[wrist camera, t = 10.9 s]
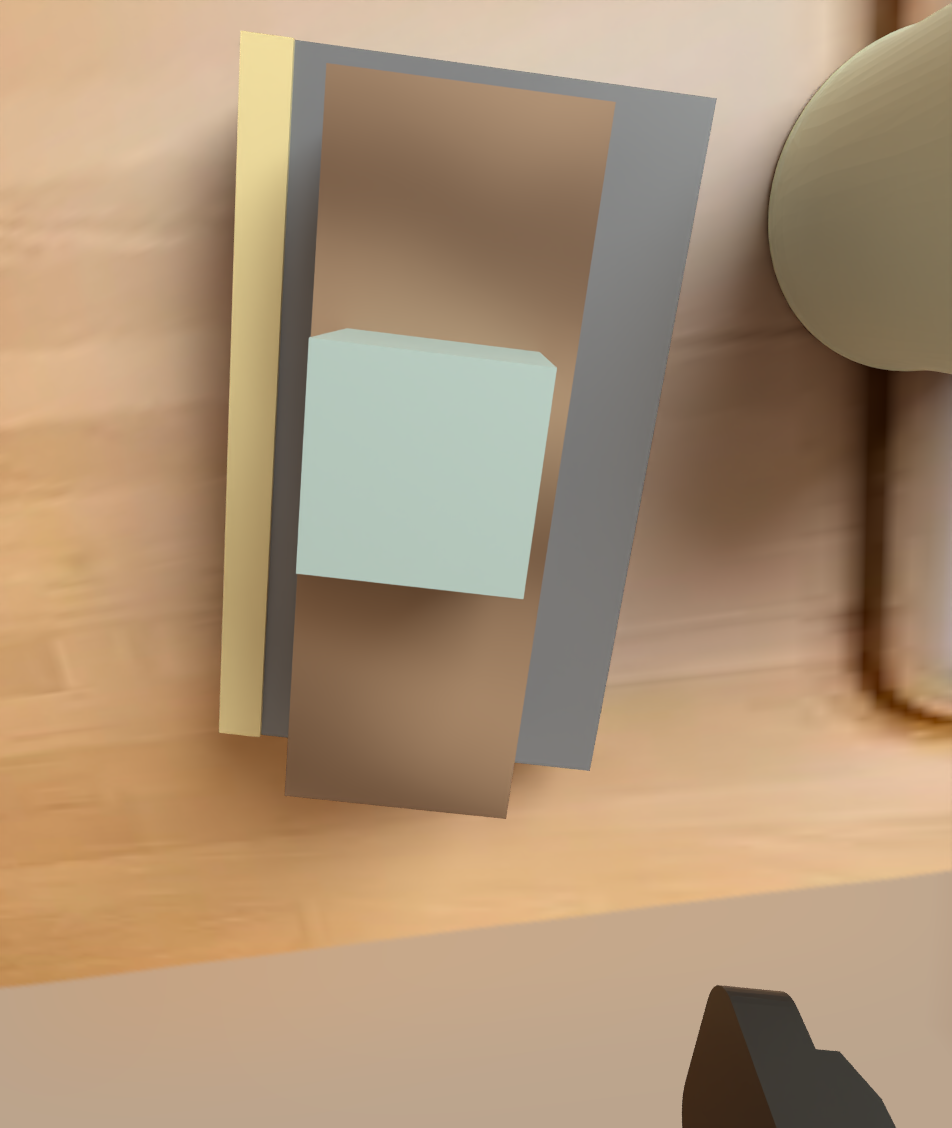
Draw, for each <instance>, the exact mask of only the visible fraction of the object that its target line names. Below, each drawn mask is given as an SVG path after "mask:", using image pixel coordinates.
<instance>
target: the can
mask: <svg viewBox="0 0 952 1128" xmlns="http://www.w3.org/2000/svg"><path fill="white" fill-rule="evenodd" d="M768 236H769V245H770V253H771V257H772V262H773V267H774V271H775V274H776V277H777V279H778V282H779V285H780V287H781V290H782V292H783V294H784V296H785V298H786V300H787V302H788V304H789V306H790V307H791V309H792V310H793V312H794V313H795V315H796V316H797V318H798V319H799V320H800V321H801V323H802V324H803V325H804V326H805V327H806V328H807V329H808V331H809V332H810V333H811V334H813V335H814V336H815V337H816V338H817V339H818V340H819V341H821V342H822V343H823V344H824V345H826V346H827V347H829V348H830V349H831V350H833V351H835V352H836V353H838V354H840V355H841V356H843V357H846V358H848V359H850V360H852V361H854V362H857V363H860V364H863V365H866V366H870V367H874V368H878V369H884V370H892V371H922V370H929V371H936V372H942V373H948V374H952V3H950V4H949V5H947V6H945V7H944V8H942V9H940V10H939V11H937V12H935V13H934V14H932V15H930V16H929V17H927V18H925V19H924V20H922V21H920V22H919V23H916V24H913V25H910V26H907V27H904V28H901V29H899V30H897V31H894V32H892V33H890V34H888V35H886V36H884V37H882V38H880V39H879V40H877V41H875V42H873V43H872V44H870V45H869V46H867V47H865V48H864V49H862V50H861V51H860V52H858V53H857V54H855V55H854V56H853V57H852V58H850V59H849V60H848V61H847V62H845V63H844V64H843V65H842V66H841V67H840V68H839V69H838V70H837V71H835V72H834V73H833V74H832V75H831V76H830V77H829V78H828V80H827V81H826V82H825V83H824V84H823V85H822V86H821V87H820V89H819V90H818V91H817V92H816V93H815V95H814V96H813V97H812V99H811V100H810V101H809V103H808V104H807V105H806V107H805V108H804V110H803V112H802V113H801V115H800V116H799V118H798V120H797V121H796V123H795V125H794V127H793V129H792V130H791V132H790V134H789V137H788V139H787V141H786V143H785V145H784V148H783V150H782V153H781V156H780V158H779V161H778V164H777V168H776V171H775V175H774V179H773V183H772V189H771V195H770V201H769V212H768Z"/></svg>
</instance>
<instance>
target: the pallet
mask: <svg viewBox="0 0 952 1128" xmlns="http://www.w3.org/2000/svg"><path fill="white" fill-rule="evenodd" d="M615 104H616V102H612V101H605V100H597V99H590V98H582V97H575V96H568V95H560V94H553V93H545V92H538V91H530V90H523V89H516V88H508V87H501V86H493V85H486V84H479V83H471V82H464V81H456V80H449V79H442V78H434V77H427V76H419V75H412V74H404V73H397V72H390V71H382V70H375V69H367V68H360V67H353V66H345V65H338V64H330V63H326V79H325V96H324V114H323V132H322V149H321V167H320V185H319V202H318V220H317V237H316V255H315V273H314V290H313V308H312V325H311V337H313V336H317V335H321V334H325V333H329V332H333V331H338V330H342V329H346V328H349V329H357V330H365V331H373V332H382V333H390V334H398V335H406V336H414V337H422V338H430V339H439V340H447V341H455V342H463V343H471V344H479V345H487V346H495V347H504V348H512V349H520V350H528V351H536V352H540V353H541V354H542V355H544V356H545V357H546V358H547V359H548V360H549V361H550V362H551V363H552V364H553V365H554V366H555V367H557V372H556V378H555V385H554V392H553V399H552V406H551V413H550V420H549V427H548V433H547V440H546V447H545V454H544V461H543V468H542V475H541V482H540V488H539V495H538V502H537V509H536V516H535V523H534V530H533V537H532V543H531V550H530V557H529V564H528V571H527V578H526V585H525V592H524V598H523V599H517V598H508V597H499V596H490V595H482V594H473V593H464V592H455V591H446V590H437V589H429V588H420V587H411V586H402V585H393V584H384V583H375V582H367V581H358V580H349V579H340V578H331V577H322V576H313V575H305V574H297V590H296V607H295V625H294V642H293V660H292V678H291V695H290V713H289V730H288V748H287V766H286V783H285V796H293V797H303V798H312V799H322V800H332V801H341V802H351V803H360V804H370V805H379V806H389V807H398V808H408V809H417V810H427V811H436V812H446V813H455V814H465V815H474V816H484V817H493V818H503V819H506V815H507V809H508V802H509V796H510V789H511V783H512V776H513V770H514V763H515V756H516V750H517V743H518V737H519V730H520V724H521V717H522V711H523V704H524V698H525V691H526V685H527V678H528V672H529V665H530V659H531V652H532V645H533V639H534V632H535V626H536V619H537V613H538V606H539V600H540V593H541V587H542V580H543V574H544V567H545V561H546V554H547V548H548V541H549V534H550V528H551V521H552V515H553V508H554V502H555V495H556V489H557V482H558V476H559V469H560V463H561V456H562V450H563V443H564V437H565V430H566V423H567V417H568V410H569V404H570V397H571V391H572V384H573V378H574V371H575V365H576V358H577V352H578V345H579V339H580V332H581V326H582V319H583V312H584V306H585V299H586V293H587V286H588V280H589V273H590V267H591V260H592V254H593V247H594V241H595V234H596V228H597V221H598V215H599V208H600V201H601V195H602V188H603V182H604V175H605V169H606V162H607V156H608V149H609V143H610V136H611V130H612V123H613V117H614V110H615Z"/></svg>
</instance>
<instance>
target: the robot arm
mask: <svg viewBox="0 0 952 1128" xmlns="http://www.w3.org/2000/svg"><path fill="white" fill-rule="evenodd" d="M682 1128H896V1127H895V1125H894V1123H893V1121H892V1119H891V1117H890V1115H889V1113H888V1111H887V1109H886V1107H885V1105H884V1103H883V1101H882V1099H881V1098H880V1097H879V1096H878V1095H877V1093H876V1092H875V1091H874V1090H873V1089H872V1088H871V1087H870V1086H869V1084H868V1083H867V1082H866V1081H865V1080H864V1079H863V1078H862V1076H861V1075H860V1074H859V1073H858V1072H857V1071H856V1070H855V1069H854V1067H853V1066H852V1065H851V1064H850V1063H849V1062H848V1061H847V1060H846V1058H845V1057H844V1056H843V1055H842V1054H841V1053H840V1052H838V1051H827V1050H817V1049H815V1047H814V1044H813V1042H812V1040H811V1038H810V1035H809V1033H808V1031H807V1029H806V1026H805V1024H804V1022H803V1020H802V1018H801V1016H800V1013H799V1011H798V1009H797V1007H796V1005H795V1003H794V1001H793V1000H792V998H791V997H790V996H789V995H788V994H787V993H785V992H781V991H771V990H761V989H750V988H740V987H730V986H719V985H717V986H715V987H714V988H713V989H712V990H711V992H710V995H709V998H708V1001H707V1004H706V1008H705V1012H704V1015H703V1019H702V1023H701V1026H700V1030H699V1034H698V1038H697V1041H696V1045H695V1048H694V1052H693V1056H692V1060H691V1063H690V1067H689V1071H688V1075H687V1078H686V1082H685V1086H684V1092H683V1100H682Z"/></svg>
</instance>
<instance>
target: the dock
mask: <svg viewBox="0 0 952 1128" xmlns="http://www.w3.org/2000/svg"><path fill="white" fill-rule="evenodd" d="M326 63H330V64H338V65H345V66H353V67H360V68H367V69H375V70H382V71H390V72H397V73H404V74H412V75H419V76H427V77H434V78H442V79H449V80H456V81H464V82H471V83H479V84H486V85H493V86H501V87H508V88H516V89H523V90H530V91H538V92H545V93H553V94H560V95H568V96H575V97H582V98H590V99H597V100H605V101H612V102H616V104H615V110H614V117H613V123H612V130H611V136H610V143H609V149H608V156H607V162H606V169H605V175H604V182H603V188H602V195H601V201H600V208H599V215H598V221H597V228H596V234H595V241H594V247H593V254H592V260H591V267H590V273H589V280H588V286H587V293H586V299H585V306H584V312H583V319H582V326H581V332H580V339H579V345H578V352H577V358H576V365H575V371H574V378H573V384H572V391H571V397H570V404H569V410H568V417H567V423H566V430H565V437H564V443H563V450H562V456H561V463H560V469H559V476H558V482H557V489H556V495H555V502H554V508H553V515H552V521H551V528H550V534H549V541H548V548H547V554H546V561H545V567H544V574H543V580H542V587H541V593H540V600H539V606H538V613H537V619H536V626H535V632H534V639H533V645H532V652H531V659H530V665H529V672H528V678H527V685H526V691H525V698H524V704H523V711H522V717H521V724H520V730H519V737H518V743H517V750H516V756H515V763H524V764H533V765H542V766H551V767H560V768H569V769H578V770H587V771H590V766H591V761H592V756H593V750H594V745H595V740H596V735H597V729H598V724H599V719H600V713H601V708H602V703H603V698H604V692H605V687H606V682H607V676H608V671H609V666H610V660H611V655H612V650H613V645H614V639H615V634H616V629H617V623H618V618H619V613H620V607H621V602H622V597H623V592H624V586H625V581H626V576H627V570H628V565H629V560H630V555H631V549H632V544H633V539H634V533H635V528H636V523H637V517H638V512H639V507H640V502H641V496H642V491H643V486H644V480H645V475H646V470H647V465H648V459H649V454H650V449H651V443H652V438H653V433H654V427H655V422H656V417H657V412H658V406H659V401H660V396H661V390H662V385H663V380H664V375H665V369H666V364H667V359H668V353H669V348H670V343H671V337H672V332H673V327H674V322H675V316H676V311H677V306H678V300H679V295H680V290H681V284H682V279H683V274H684V269H685V263H686V258H687V253H688V247H689V242H690V237H691V232H692V226H693V221H694V216H695V210H696V205H697V200H698V194H699V189H700V184H701V179H702V173H703V168H704V163H705V157H706V152H707V147H708V142H709V136H710V131H711V126H712V120H713V115H714V110H715V104H716V98H709V97H702V96H695V95H688V94H680V93H673V92H666V91H659V90H652V89H644V88H637V87H630V86H623V85H616V84H608V83H601V82H594V81H587V80H580V79H572V78H565V77H558V76H551V75H544V74H536V73H529V72H522V71H515V70H508V69H500V68H493V67H486V66H479V65H472V64H464V63H457V62H450V61H443V60H436V59H428V58H421V57H414V56H407V55H400V54H392V53H385V52H378V51H371V50H364V49H356V48H349V47H342V46H335V45H328V44H320V43H313V42H306V41H299V40H295V39H294V38H290V37H283V36H275V35H268V34H261V33H254V32H247V31H241V32H240V65H239V97H238V129H237V162H236V194H235V226H234V259H233V291H232V323H231V355H230V388H229V420H228V452H227V485H226V517H225V549H224V582H223V614H222V646H221V679H220V711H219V733H226V734H235V735H244V736H253V737H260V736H261V735H269V736H278V737H287V738H288V730H289V713H290V695H291V678H292V660H293V642H294V625H295V607H296V590H297V574H296V563H297V545H298V527H299V508H300V490H301V472H302V454H303V436H304V417H305V399H306V381H307V363H308V345H309V337H311V325H312V308H313V290H314V273H315V255H316V237H317V220H318V202H319V185H320V167H321V149H322V132H323V114H324V96H325V79H326Z"/></svg>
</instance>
